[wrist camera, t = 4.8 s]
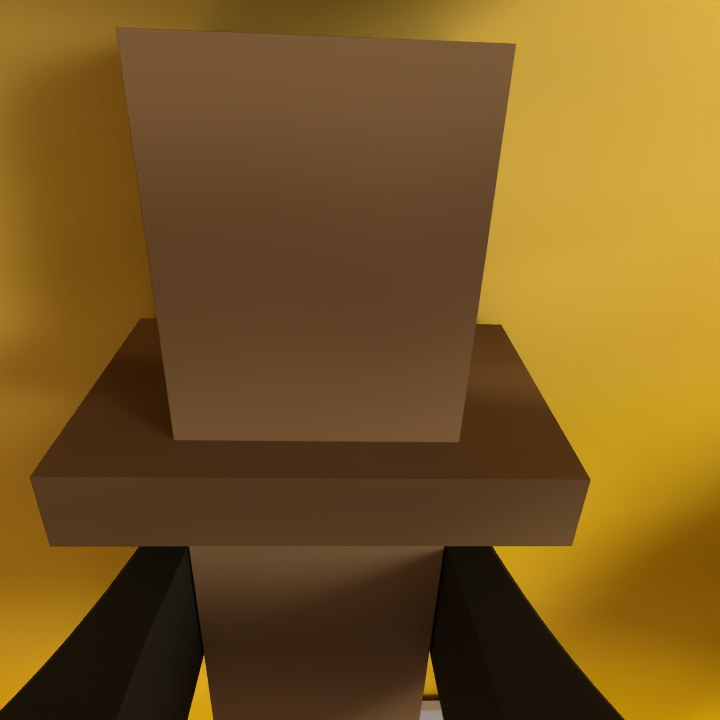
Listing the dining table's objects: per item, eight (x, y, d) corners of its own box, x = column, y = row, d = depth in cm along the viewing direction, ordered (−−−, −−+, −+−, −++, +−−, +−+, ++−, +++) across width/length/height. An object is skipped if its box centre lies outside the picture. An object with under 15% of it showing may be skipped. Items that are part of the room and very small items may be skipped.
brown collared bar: (455, 600, 16) (498, 802, 12) (185, 601, 16) (128, 811, 11) (546, 45, 10) (711, 52, 5) (95, 28, 9) (-107, 17, 5)
